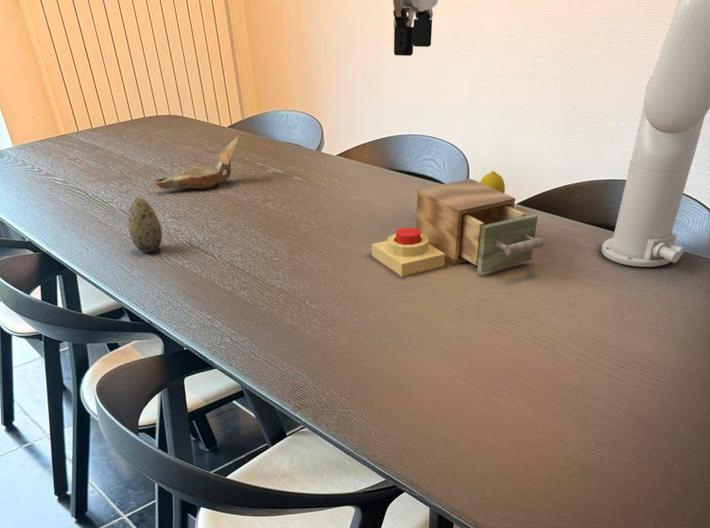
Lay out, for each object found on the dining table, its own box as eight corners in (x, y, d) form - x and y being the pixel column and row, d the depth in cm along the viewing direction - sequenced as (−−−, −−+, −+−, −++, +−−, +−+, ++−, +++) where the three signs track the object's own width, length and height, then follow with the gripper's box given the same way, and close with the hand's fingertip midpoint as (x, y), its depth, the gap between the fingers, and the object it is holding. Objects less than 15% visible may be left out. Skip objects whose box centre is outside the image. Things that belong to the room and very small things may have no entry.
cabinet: (508, 251, 125) (515, 198, 119) (454, 264, 122) (458, 210, 115) (466, 229, 135) (471, 178, 129) (415, 240, 131) (417, 189, 125)
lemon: (501, 216, 140) (506, 175, 135) (475, 215, 141) (478, 174, 136) (502, 207, 144) (507, 167, 139) (476, 206, 145) (480, 167, 140)
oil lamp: (248, 185, 161) (243, 139, 155) (160, 199, 155) (151, 152, 148) (238, 175, 167) (232, 131, 161) (152, 189, 161) (143, 143, 154)
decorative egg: (128, 255, 129) (115, 201, 123) (145, 244, 134) (133, 191, 127) (154, 258, 128) (142, 204, 121) (171, 247, 132) (160, 194, 126)
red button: (424, 243, 120) (425, 233, 119) (403, 247, 119) (403, 238, 118) (412, 235, 123) (412, 225, 122) (391, 240, 122) (391, 230, 121)
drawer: (548, 269, 117) (556, 223, 112) (497, 282, 113) (502, 236, 108) (489, 238, 128) (494, 195, 123) (441, 249, 125) (444, 206, 120)
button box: (444, 266, 121) (445, 244, 119) (401, 276, 118) (402, 254, 116) (412, 246, 129) (413, 225, 126) (371, 255, 126) (371, 234, 123)
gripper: (421, -78, 98) (417, 59, 109) (455, -80, 110) (448, 43, 121) (374, -76, 100) (374, 58, 111) (412, -79, 112) (409, 42, 123)
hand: (412, 50), depth 116 cm, fingers open, 9 cm apart
